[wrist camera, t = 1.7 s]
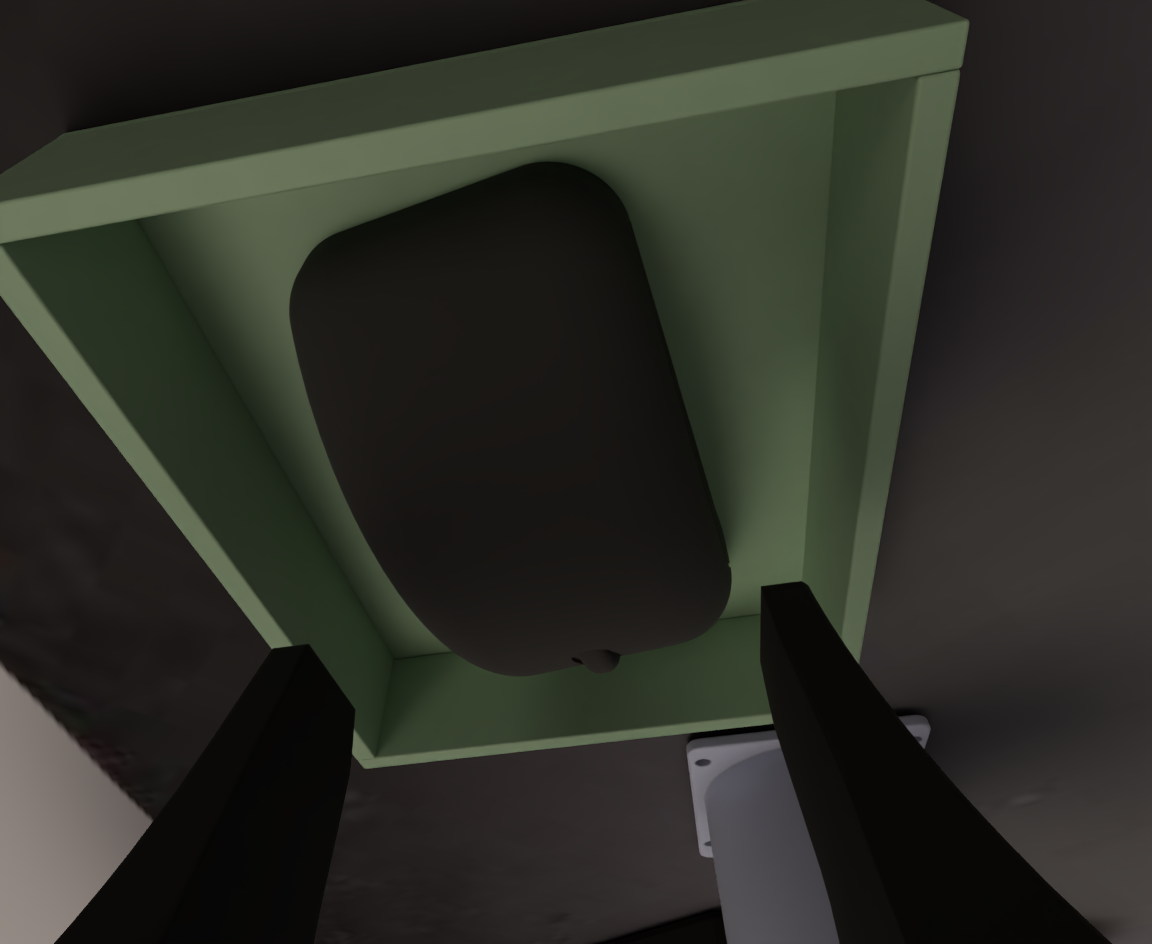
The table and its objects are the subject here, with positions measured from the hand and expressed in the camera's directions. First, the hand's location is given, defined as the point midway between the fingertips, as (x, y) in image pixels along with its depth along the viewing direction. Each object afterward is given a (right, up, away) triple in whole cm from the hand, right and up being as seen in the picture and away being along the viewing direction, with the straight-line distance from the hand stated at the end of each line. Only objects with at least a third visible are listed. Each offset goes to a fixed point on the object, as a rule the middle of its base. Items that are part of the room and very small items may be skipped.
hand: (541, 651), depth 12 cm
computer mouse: (0, +4, +4) cm, 6 cm away
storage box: (0, +4, +4) cm, 6 cm away
